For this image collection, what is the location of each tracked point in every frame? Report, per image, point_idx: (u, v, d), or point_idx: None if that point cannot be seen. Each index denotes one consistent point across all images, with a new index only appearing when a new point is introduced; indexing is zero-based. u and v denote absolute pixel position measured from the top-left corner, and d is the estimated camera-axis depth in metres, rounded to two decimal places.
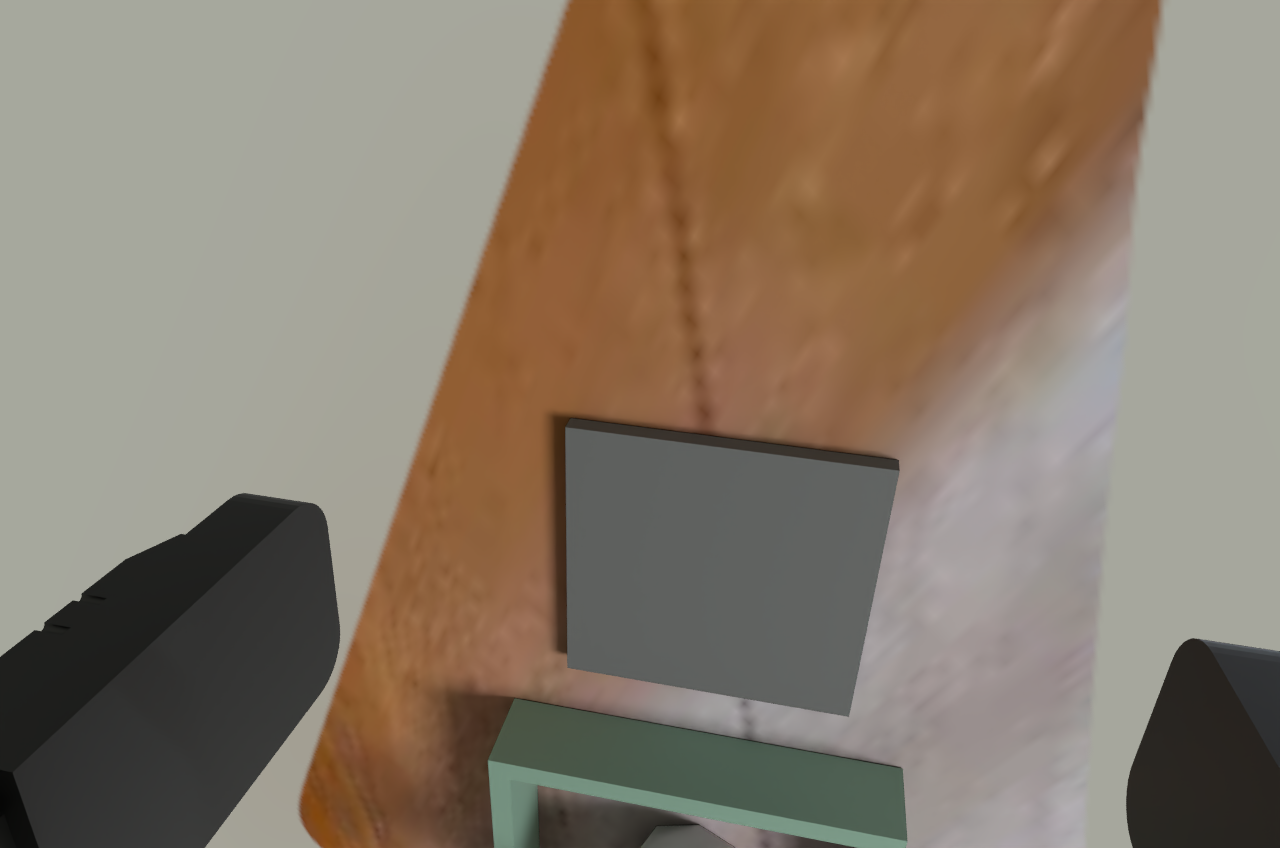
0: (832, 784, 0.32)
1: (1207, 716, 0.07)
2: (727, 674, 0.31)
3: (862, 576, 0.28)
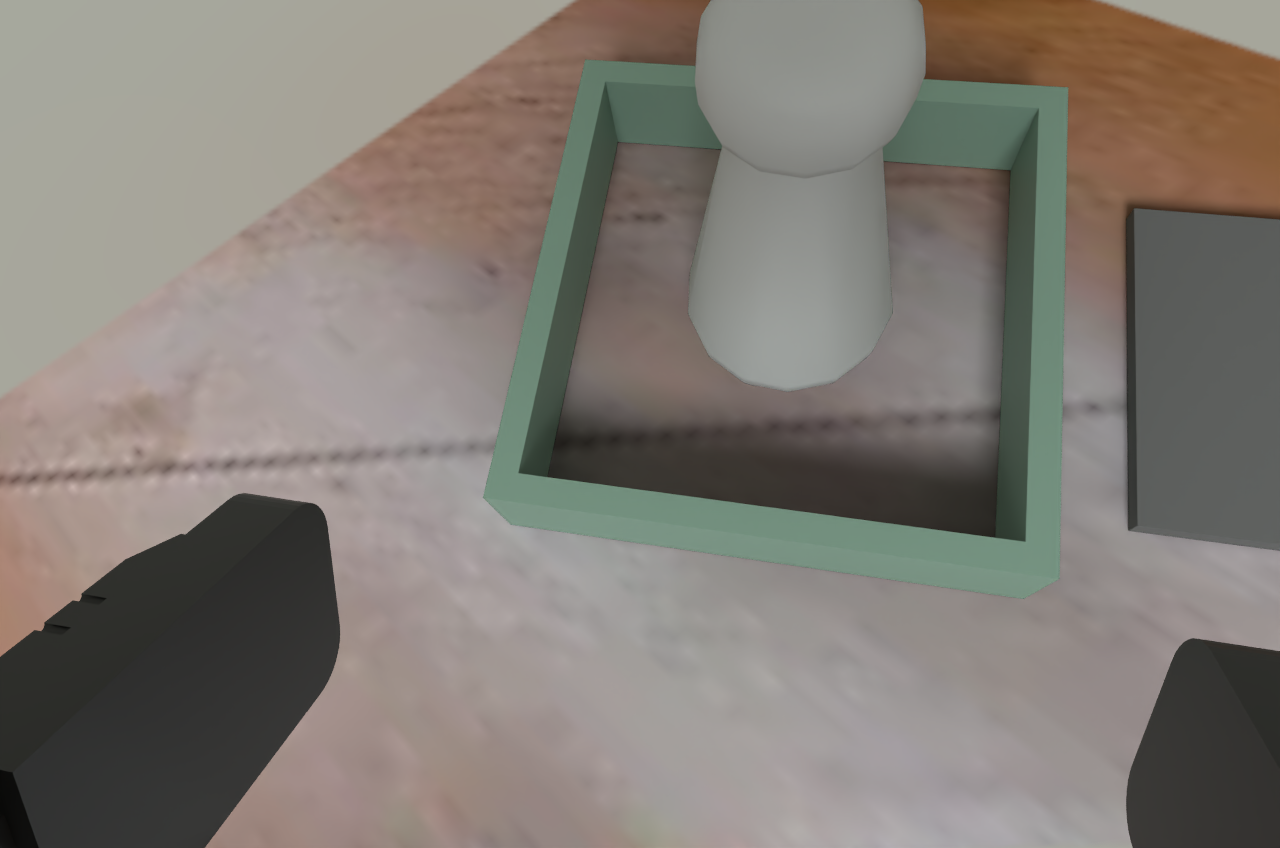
0: None
1: (1206, 716, 0.07)
2: (1172, 384, 0.25)
3: None
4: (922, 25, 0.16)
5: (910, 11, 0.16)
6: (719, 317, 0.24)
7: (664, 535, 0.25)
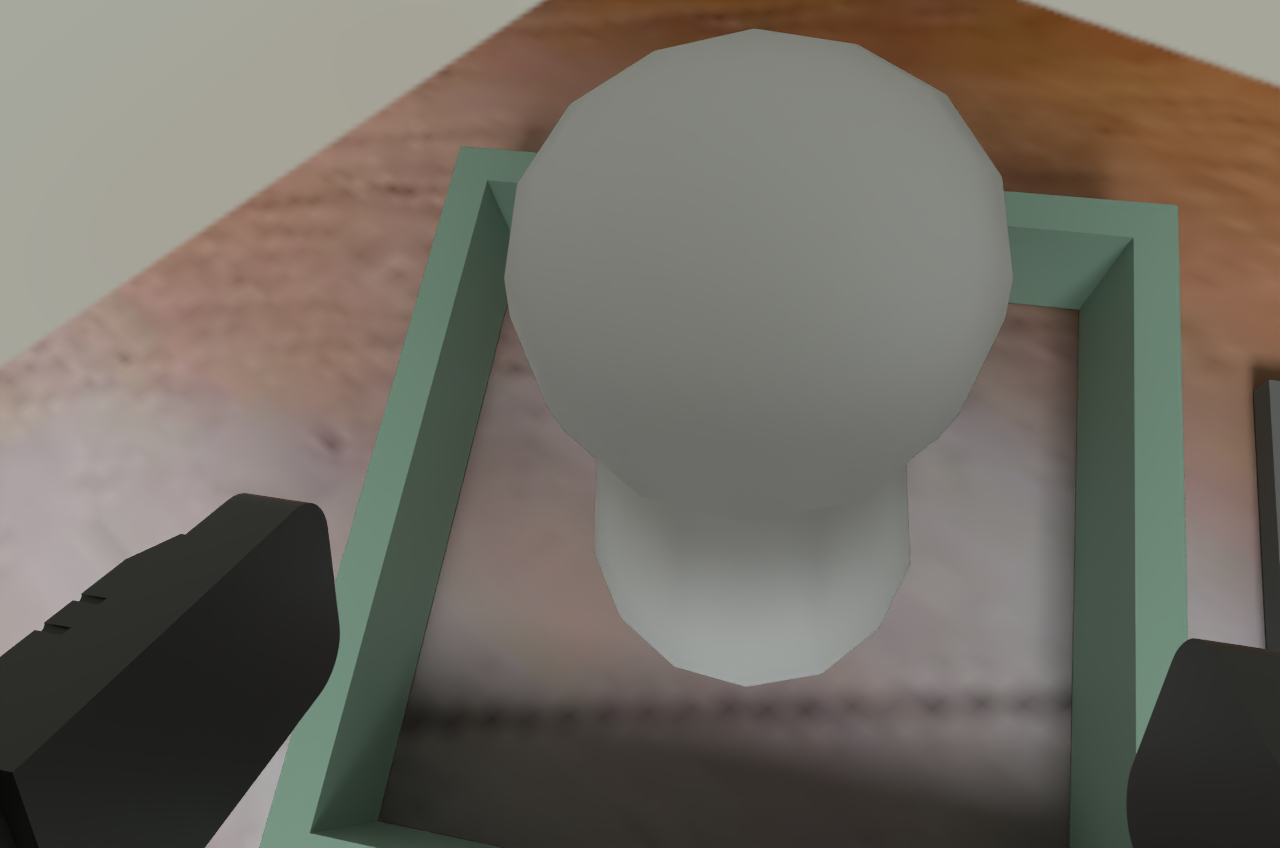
0: None
1: (1207, 716, 0.07)
2: None
3: None
4: (1003, 225, 0.07)
5: (978, 196, 0.07)
6: (631, 596, 0.15)
7: None
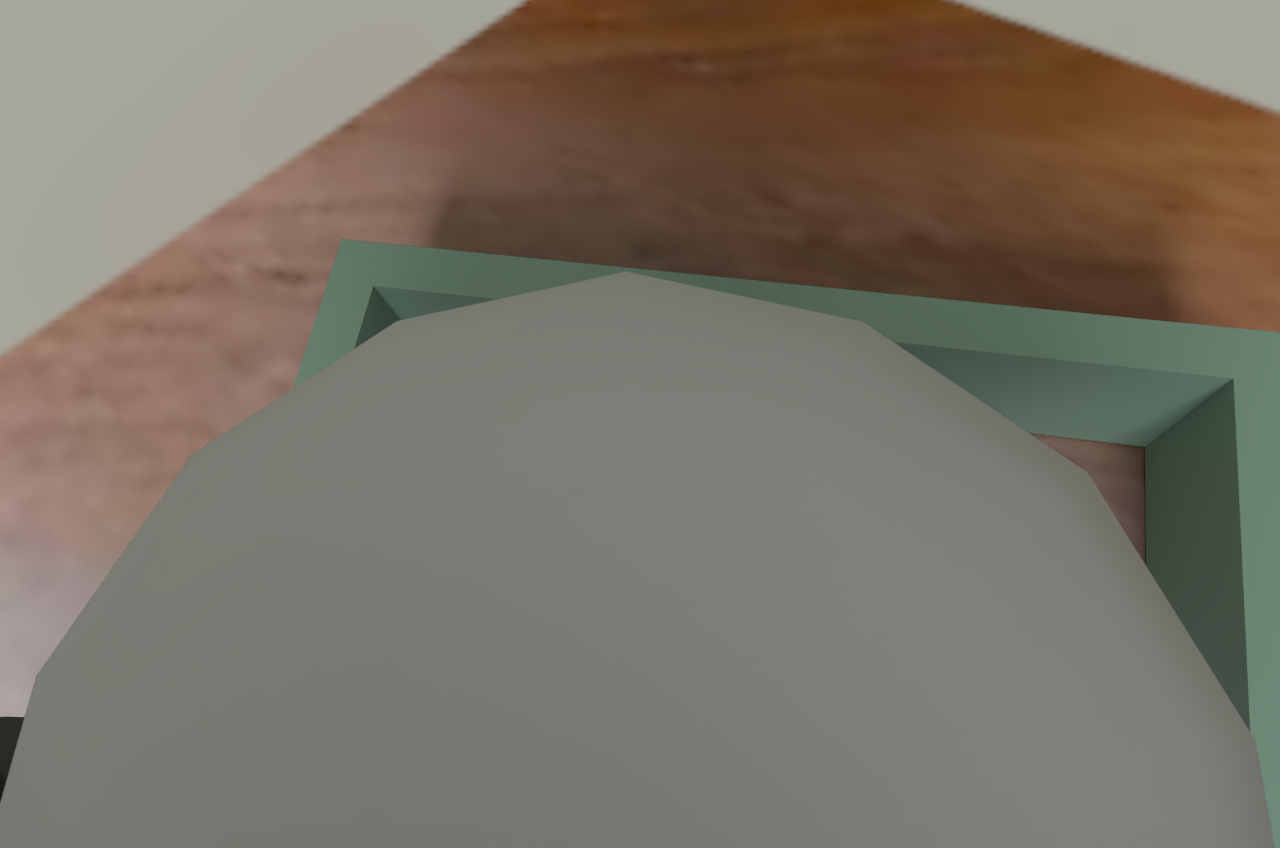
0: None
1: None
2: None
3: None
4: None
5: None
6: None
7: None
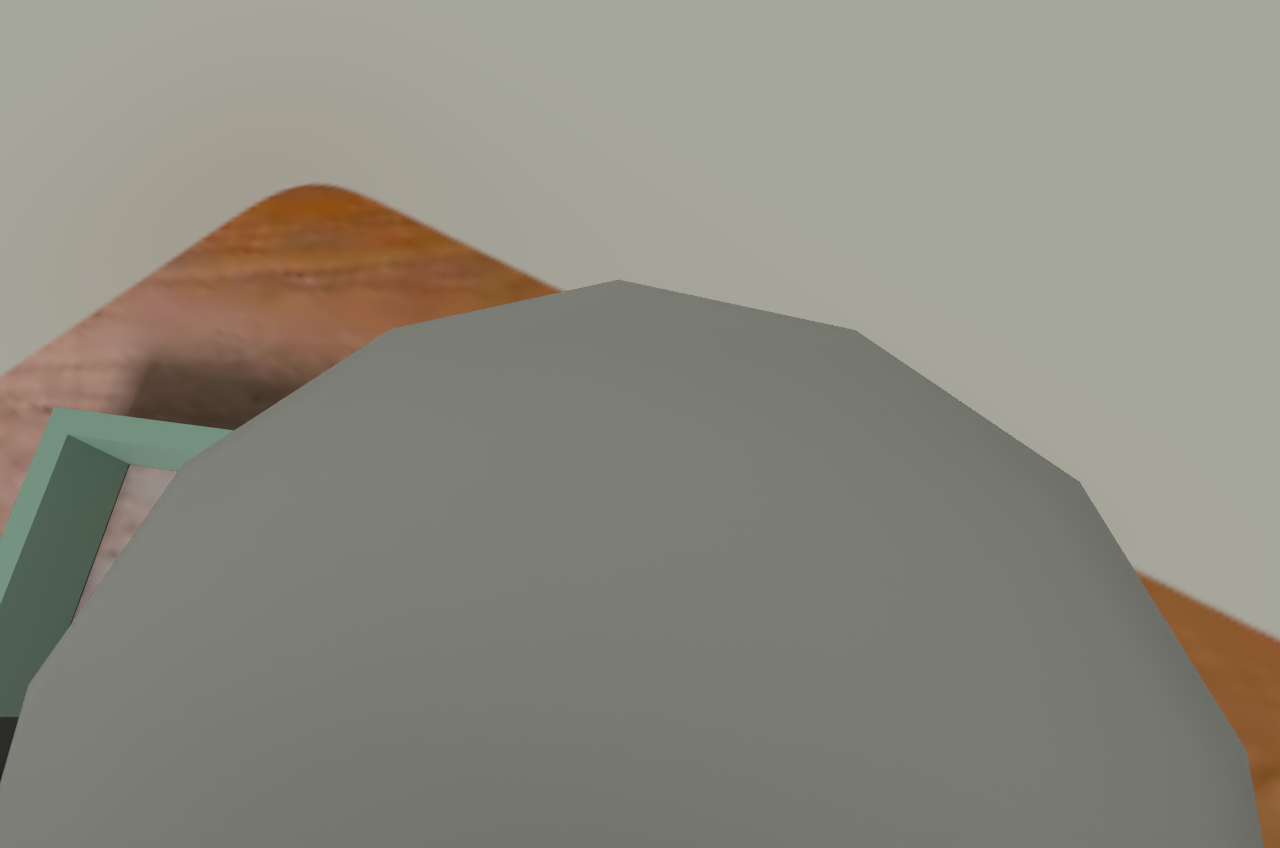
0: None
1: None
2: None
3: None
4: None
5: None
6: None
7: None
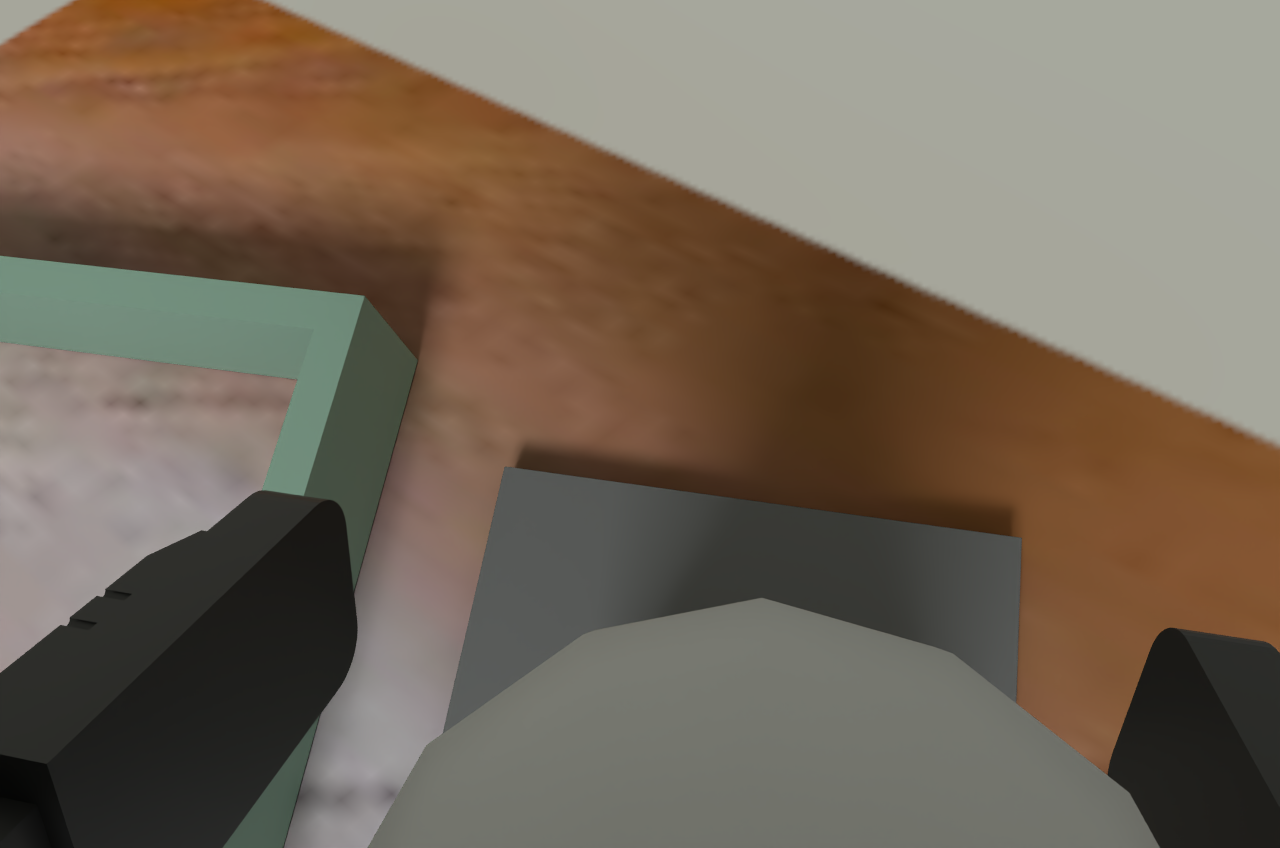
0: None
1: (1183, 703, 0.07)
2: None
3: None
4: None
5: None
6: None
7: None
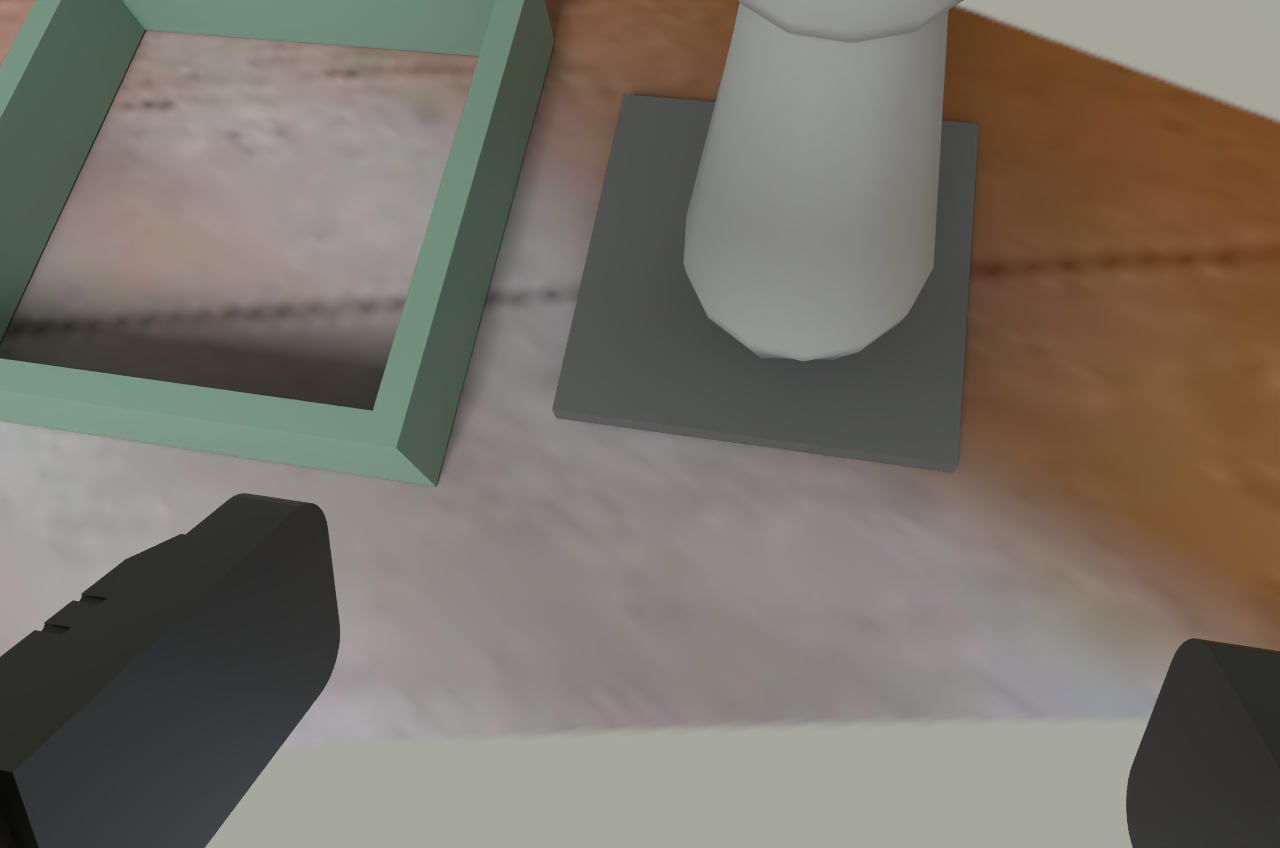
0: (445, 379, 0.23)
1: (1207, 716, 0.07)
2: (620, 268, 0.24)
3: (793, 424, 0.22)
4: None
5: None
6: (723, 263, 0.19)
7: (55, 414, 0.23)
